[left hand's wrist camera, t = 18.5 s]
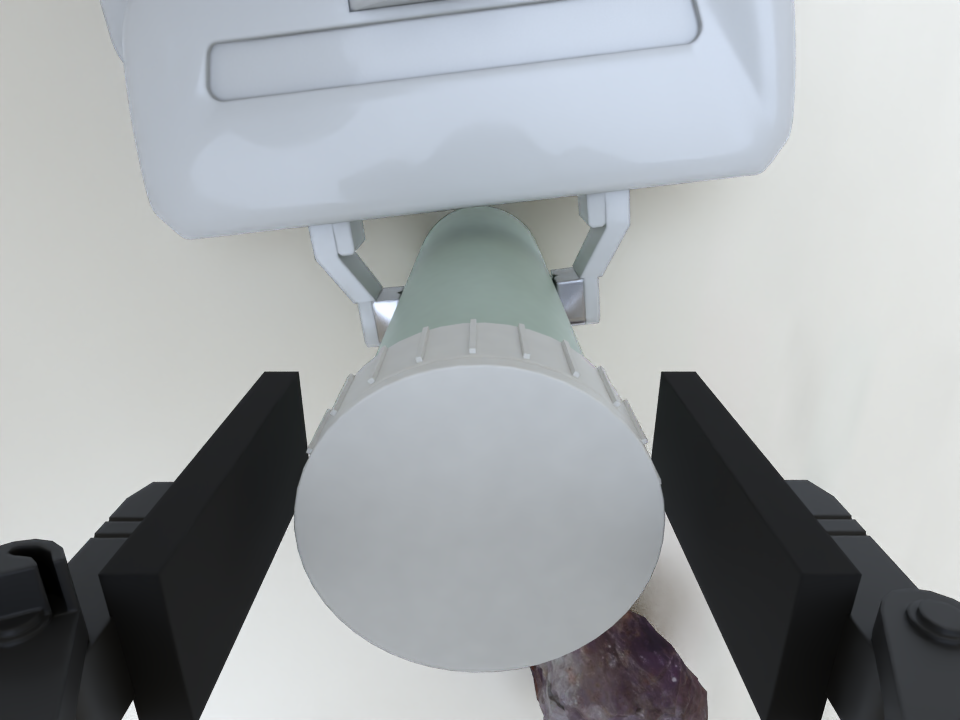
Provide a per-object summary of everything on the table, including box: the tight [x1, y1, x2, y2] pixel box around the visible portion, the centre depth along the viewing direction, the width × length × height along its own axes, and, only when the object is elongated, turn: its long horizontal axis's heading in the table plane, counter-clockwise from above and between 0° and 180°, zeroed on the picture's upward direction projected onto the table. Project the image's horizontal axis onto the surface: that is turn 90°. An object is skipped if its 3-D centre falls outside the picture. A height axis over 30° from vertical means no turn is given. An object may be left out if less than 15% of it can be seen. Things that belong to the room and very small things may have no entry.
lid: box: [294, 319, 665, 672], centre depth 12 cm, size 6×6×2 cm
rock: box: [530, 609, 708, 720], centre depth 32 cm, size 12×9×10 cm
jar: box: [375, 206, 584, 357], centre depth 20 cm, size 6×6×18 cm
